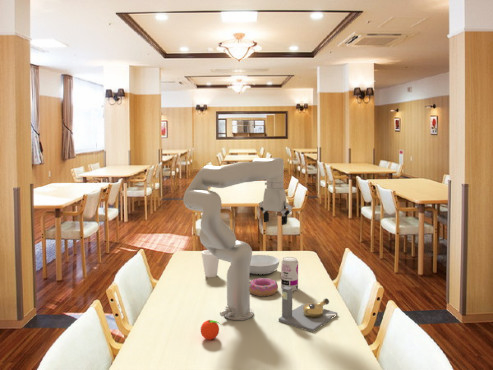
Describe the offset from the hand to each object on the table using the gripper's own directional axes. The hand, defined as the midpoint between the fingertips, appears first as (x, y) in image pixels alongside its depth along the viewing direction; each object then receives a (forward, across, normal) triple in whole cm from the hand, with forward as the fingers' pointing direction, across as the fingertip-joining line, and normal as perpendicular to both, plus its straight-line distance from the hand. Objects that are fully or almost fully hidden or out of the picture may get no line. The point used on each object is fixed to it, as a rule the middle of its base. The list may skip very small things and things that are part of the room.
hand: (275, 223), depth 202 cm
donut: (+36, -10, +4) cm, 37 cm away
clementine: (+35, +3, -48) cm, 59 cm away
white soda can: (+36, -1, +15) cm, 39 cm away
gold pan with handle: (+34, +24, -4) cm, 42 cm away
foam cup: (+36, -46, +7) cm, 58 cm away
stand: (+35, +23, -10) cm, 43 cm away
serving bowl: (+36, -28, +27) cm, 53 cm away
